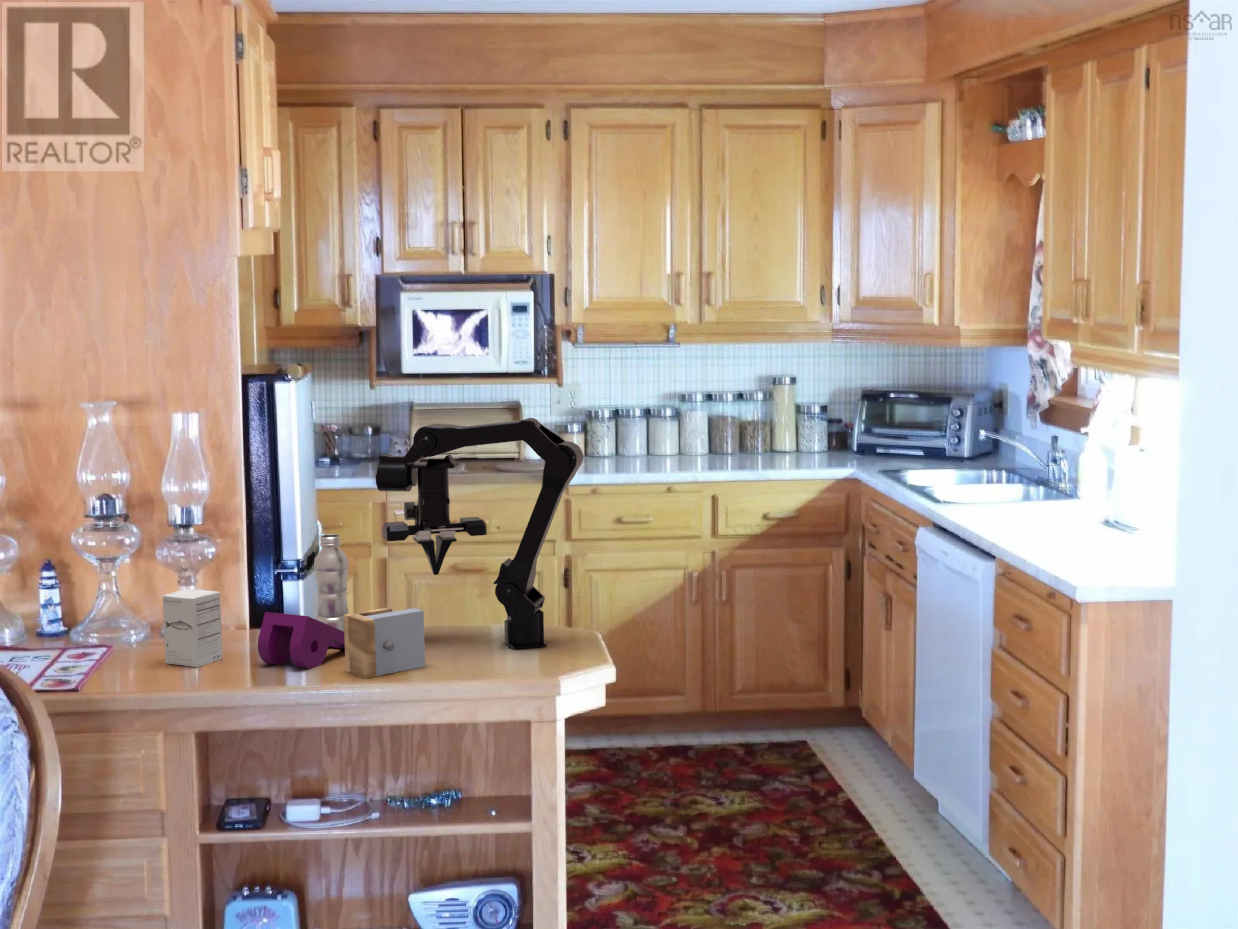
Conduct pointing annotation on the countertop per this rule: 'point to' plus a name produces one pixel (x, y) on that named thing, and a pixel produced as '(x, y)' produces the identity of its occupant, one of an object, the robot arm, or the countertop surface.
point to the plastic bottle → (331, 582)
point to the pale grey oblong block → (399, 640)
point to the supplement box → (192, 627)
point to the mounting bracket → (296, 640)
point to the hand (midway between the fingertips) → (435, 574)
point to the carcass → (361, 642)
